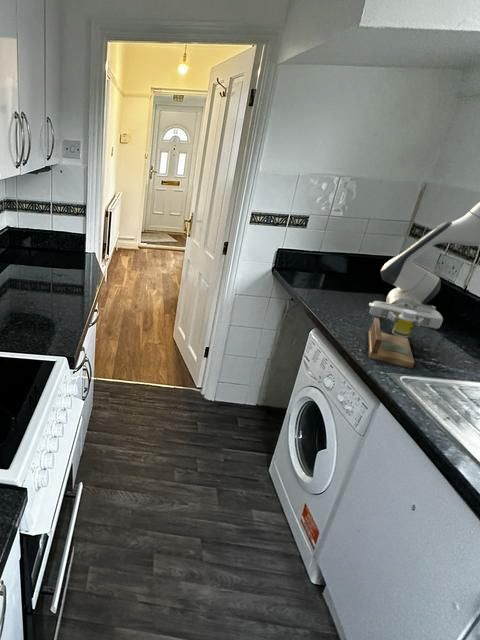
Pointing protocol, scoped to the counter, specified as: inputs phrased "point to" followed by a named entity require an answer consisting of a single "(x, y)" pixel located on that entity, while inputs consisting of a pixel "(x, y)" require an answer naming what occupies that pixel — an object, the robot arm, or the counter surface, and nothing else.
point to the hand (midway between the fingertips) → (406, 321)
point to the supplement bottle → (404, 323)
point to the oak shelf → (389, 347)
